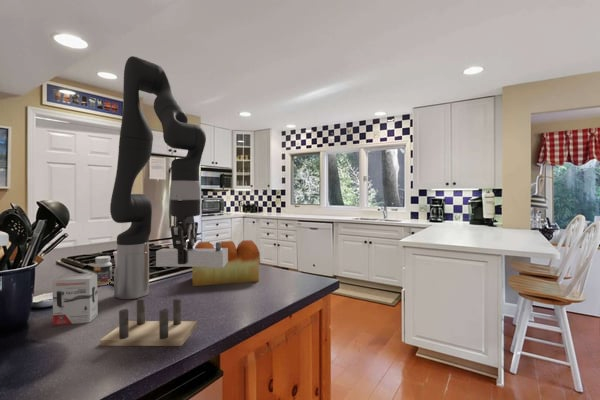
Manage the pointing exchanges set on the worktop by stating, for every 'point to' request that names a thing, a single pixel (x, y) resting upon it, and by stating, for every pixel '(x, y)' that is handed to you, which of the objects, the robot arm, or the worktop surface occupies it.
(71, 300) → the ink box
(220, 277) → the bread
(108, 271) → the pill bottle
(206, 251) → the grey pegged bar
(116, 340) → the rack
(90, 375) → the worktop surface
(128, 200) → the robot arm
